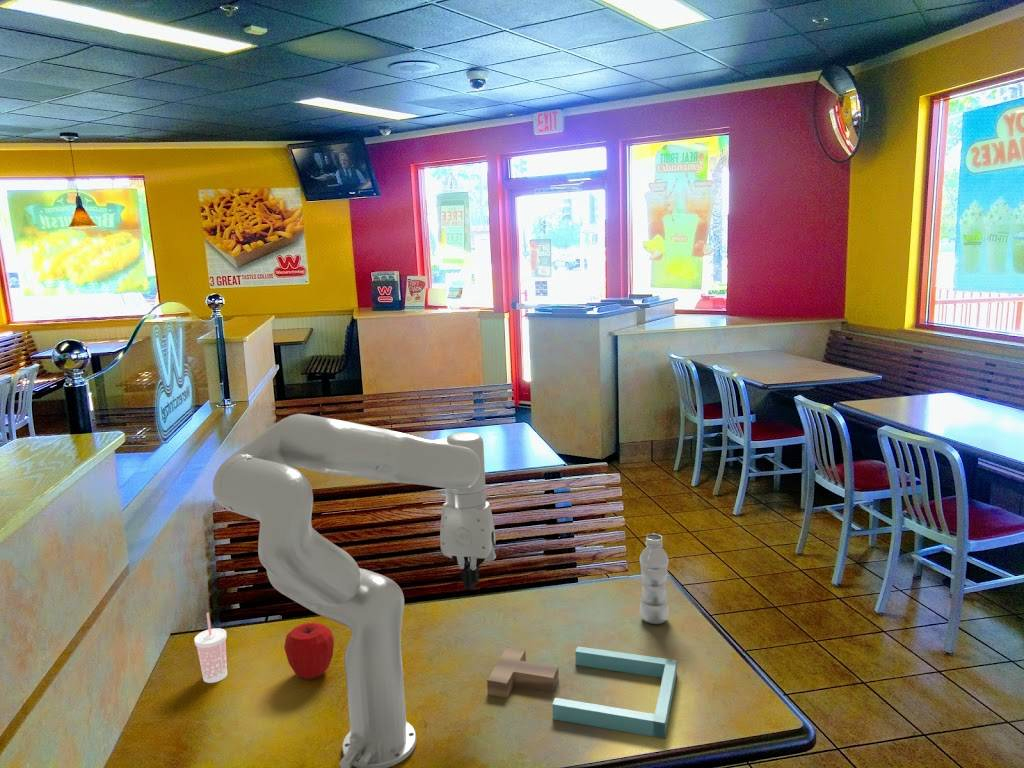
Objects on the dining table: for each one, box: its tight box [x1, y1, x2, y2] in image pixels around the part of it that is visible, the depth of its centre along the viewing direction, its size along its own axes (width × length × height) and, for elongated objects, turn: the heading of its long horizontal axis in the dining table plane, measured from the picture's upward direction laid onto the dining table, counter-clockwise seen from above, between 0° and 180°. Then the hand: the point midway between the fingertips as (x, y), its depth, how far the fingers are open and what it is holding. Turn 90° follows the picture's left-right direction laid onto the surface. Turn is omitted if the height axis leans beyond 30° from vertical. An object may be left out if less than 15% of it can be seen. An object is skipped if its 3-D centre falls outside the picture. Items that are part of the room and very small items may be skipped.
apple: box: [283, 622, 335, 681], centre depth 149 cm, size 10×10×11 cm
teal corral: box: [551, 646, 678, 739], centre depth 139 cm, size 20×20×3 cm
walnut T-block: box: [486, 647, 560, 698], centre depth 145 cm, size 12×12×3 cm
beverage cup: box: [193, 612, 228, 684], centre depth 149 cm, size 6×6×14 cm
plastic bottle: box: [639, 533, 670, 625], centre depth 164 cm, size 6×7×20 cm
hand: (470, 585), depth 145 cm, fingers closed
